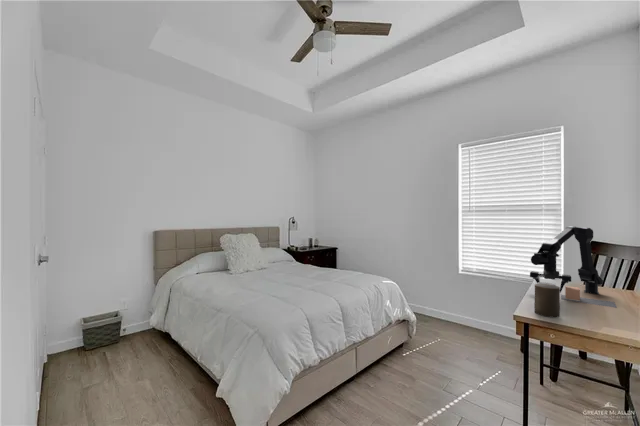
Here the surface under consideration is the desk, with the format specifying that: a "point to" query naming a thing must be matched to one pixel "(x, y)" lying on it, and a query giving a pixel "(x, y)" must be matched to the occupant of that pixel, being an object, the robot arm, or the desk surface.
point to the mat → (592, 301)
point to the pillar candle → (547, 300)
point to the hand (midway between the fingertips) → (550, 291)
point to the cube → (572, 293)
